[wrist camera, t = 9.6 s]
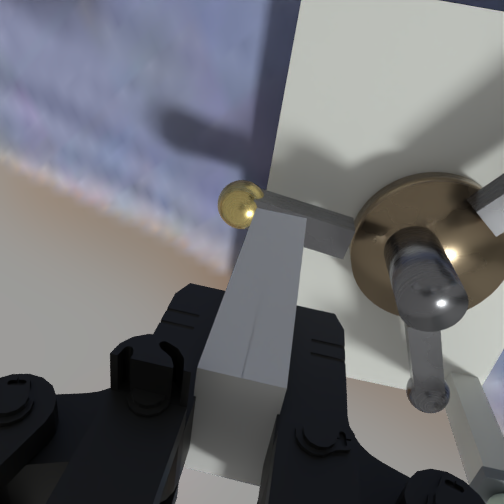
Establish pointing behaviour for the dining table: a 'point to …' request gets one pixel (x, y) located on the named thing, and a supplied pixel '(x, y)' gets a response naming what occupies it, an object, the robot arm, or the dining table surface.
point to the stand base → (398, 174)
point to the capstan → (406, 256)
